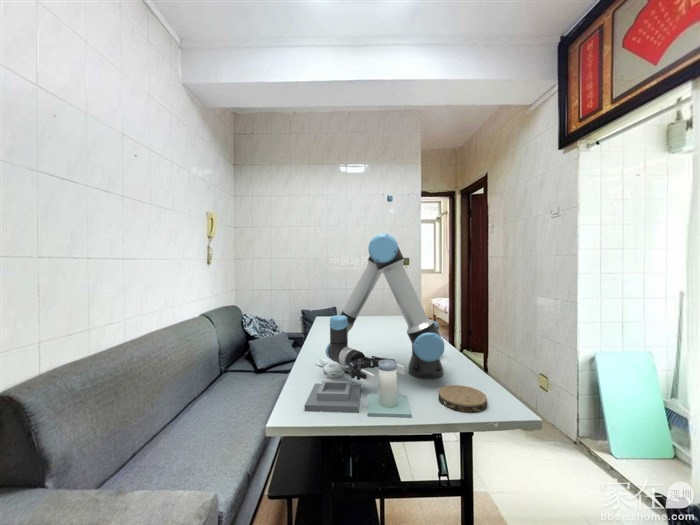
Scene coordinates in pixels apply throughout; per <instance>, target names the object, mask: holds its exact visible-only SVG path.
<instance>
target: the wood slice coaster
mask: <svg viewBox="0 0 700 525" xmlns="http://www.w3.org/2000/svg"><path fill="white" fill-rule="evenodd" d="M487 400H488V397H487V395H486V394H485V393H484V392H482V391H481V390H479V389H476V388H474V387H470V386H467V385H466V386H465V385H458V384H450V385H445V386H442V387H441V388H439V389H438V401H439V403H440V404H441V405H442V406H443V405H444V406H443V407H445V408H446V407H447V408H446V409H448V408H449V409H448V410H452V411H454V412H458V413H463V414H479V413H482V412H484V411H485V410H486V409H487V407H488V401H487Z"/></svg>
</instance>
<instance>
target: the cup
mask: <svg viewBox="0 0 700 525" xmlns="http://www.w3.org/2000/svg"><path fill="white" fill-rule="evenodd" d="M389 359H390V358H387V359H384V360H380V361H379V362H378V366H379V367H378V390H379V391H378V394H379V403H380V405H381V406H383V407H394V406H396V405H397V395H398V386H397V385H398V383H397V379H398V378H397V373H398V372H396V369H397V364H398V363H397V361H396V360H395V359H394V360H395V361H394V360H389Z"/></svg>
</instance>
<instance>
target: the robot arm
mask: <svg viewBox="0 0 700 525" xmlns="http://www.w3.org/2000/svg"><path fill="white" fill-rule="evenodd" d="M368 255H369V257H368V258H367V264H366V267H365V269H364V271H363V273H362V274H361V275H360V278H359V280H358V281H357V283H356V285H355V287H354V289H353V290H352V293H351V294H350V296H349V298H348V300H347V302H346V304H345V306H344V308H343V309H342V311H341V312H340V314H338V315H332V316H330V320H329V341H330V342H329V343H328V344H327V345H326V348H325V355H326V357H327V358H328V359H329V360H331V361H332V362H334V363H335V362H336V363H338V364H340V365H342V366H344V367H345V370H346V371H348V373H349V376H350V377H351V379H355V378H356V380H357V381H360V380H361V379H362V380H364V381H367V382H369V383H371V384H373V385H375V383H376V376H375V374H373V373H371V372H369V371H367V370H365V369H374V368H379V366H378V362H379V361H380V360H384V359H389V360H394V361H396V360H395V359H394V358H386V357H380V356H374V355H372V356H371V357H368V356H365V353H363V352H362V351H360V350H357V349H355V348H352V347H350V346H348V345H349V344H348V343H349V340H348V339H349V338H348V337H349V336H348V335H349V332H350V330H352V329H353V326H354V324H355V322H356V320H357V318H358V317H359V315H360V313H361V311H362V309H363V307H364V306H365V304H366V302H367V301H368V298H369V297H370V295H371V293H372V292H373V289H374V288H375V286H376V284H377V282H378V281H379V279H380V278H381V275H382V274H383V275H384V277H385V279H386V281H387V284H388V286H389V289H390V291H391V293H392V295H393V297H394V299H395V301H396V304H397V306H398V307H399V310H400V312H401V314H402V316H403V319H404V320H405V323H406V325H407V330H406V334H407V336H408V338H409V341H410V343H411V351H412V352H411V357H410V360H409V363H408V367H407V368H408V374H410V375H411V376H413V377H416V378H420V379H427V378H432V379H438V378H441V377H442V376H443V375H444V368H443V365H442V362H441V357H442V356H443V354H444V352H445V342H444V339H443V338H442V336H441V334H440V331H439V329H440V326H439V322H437V321H434V320H432V319H430V318H428V316H427V314H426V311H425V309H424V308H423V307H424V306H423V305H422V303H421V301H420V299H419V296H418V295H417V292H416V290H415V288H414V286H413V284H412V282H411V280H410V277H409V275H408V273H407V271H406V269H405V267H404V261H405V258H404V256H403V254H402V252H401V250H400V248H399V245H398V242H397V240H396V238H395V237H394V236H392V235H391V234H388V233H380V234H376V235H375V236H374V237H372V238H371V240H370V242H369V244H368ZM396 372H397V373H398V374H400V375H405V366H404V365H402V364H399V363H397V369H396ZM440 376H441V377H440ZM437 377H438V378H437Z"/></svg>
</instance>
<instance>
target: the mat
mask: <svg viewBox="0 0 700 525" xmlns="http://www.w3.org/2000/svg"><path fill="white" fill-rule="evenodd" d="M412 416H413V415H412V409H411V406H410V402H409V397H408V395H407V394H397V405H396V406H394V407H383V406H381V405H380V403H379V393H368V395H367V417H384V418H385V417H387V418H412Z"/></svg>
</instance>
